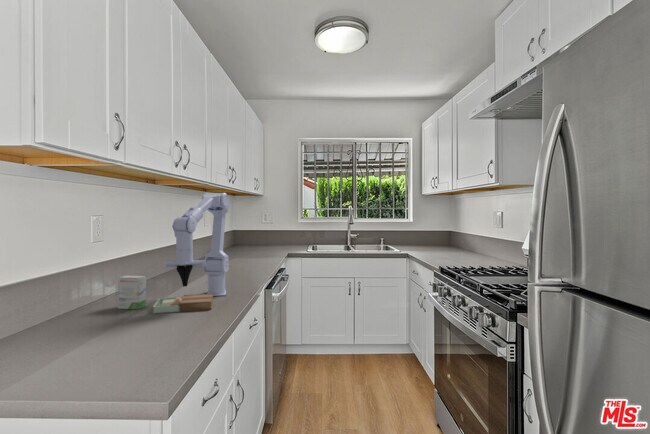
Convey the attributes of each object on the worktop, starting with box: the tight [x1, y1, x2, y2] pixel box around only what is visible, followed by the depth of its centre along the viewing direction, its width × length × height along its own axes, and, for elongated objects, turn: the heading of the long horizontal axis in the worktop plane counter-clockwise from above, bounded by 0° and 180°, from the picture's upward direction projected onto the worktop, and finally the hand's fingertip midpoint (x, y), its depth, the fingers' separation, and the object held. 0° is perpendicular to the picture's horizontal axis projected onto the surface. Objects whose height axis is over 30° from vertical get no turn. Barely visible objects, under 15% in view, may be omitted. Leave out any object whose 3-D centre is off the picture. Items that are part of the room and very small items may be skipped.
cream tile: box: [162, 299, 175, 306], centre depth 140 cm, size 4×4×2 cm
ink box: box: [117, 275, 147, 310], centre depth 138 cm, size 9×5×12 cm, turn 84°
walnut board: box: [179, 293, 214, 313], centre depth 140 cm, size 13×11×3 cm
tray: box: [152, 296, 183, 314], centre depth 138 cm, size 13×9×2 cm
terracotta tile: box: [169, 296, 182, 305], centre depth 135 cm, size 4×4×2 cm
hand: (185, 285), depth 136 cm, fingers closed
